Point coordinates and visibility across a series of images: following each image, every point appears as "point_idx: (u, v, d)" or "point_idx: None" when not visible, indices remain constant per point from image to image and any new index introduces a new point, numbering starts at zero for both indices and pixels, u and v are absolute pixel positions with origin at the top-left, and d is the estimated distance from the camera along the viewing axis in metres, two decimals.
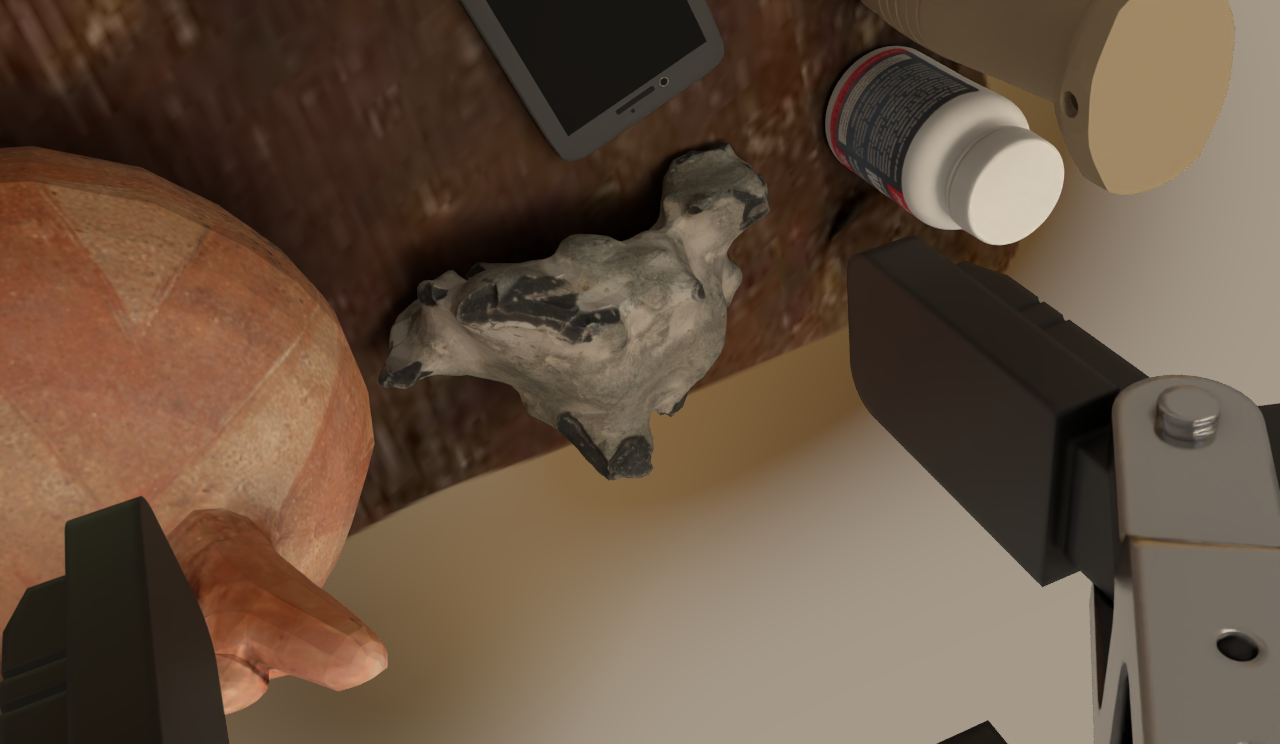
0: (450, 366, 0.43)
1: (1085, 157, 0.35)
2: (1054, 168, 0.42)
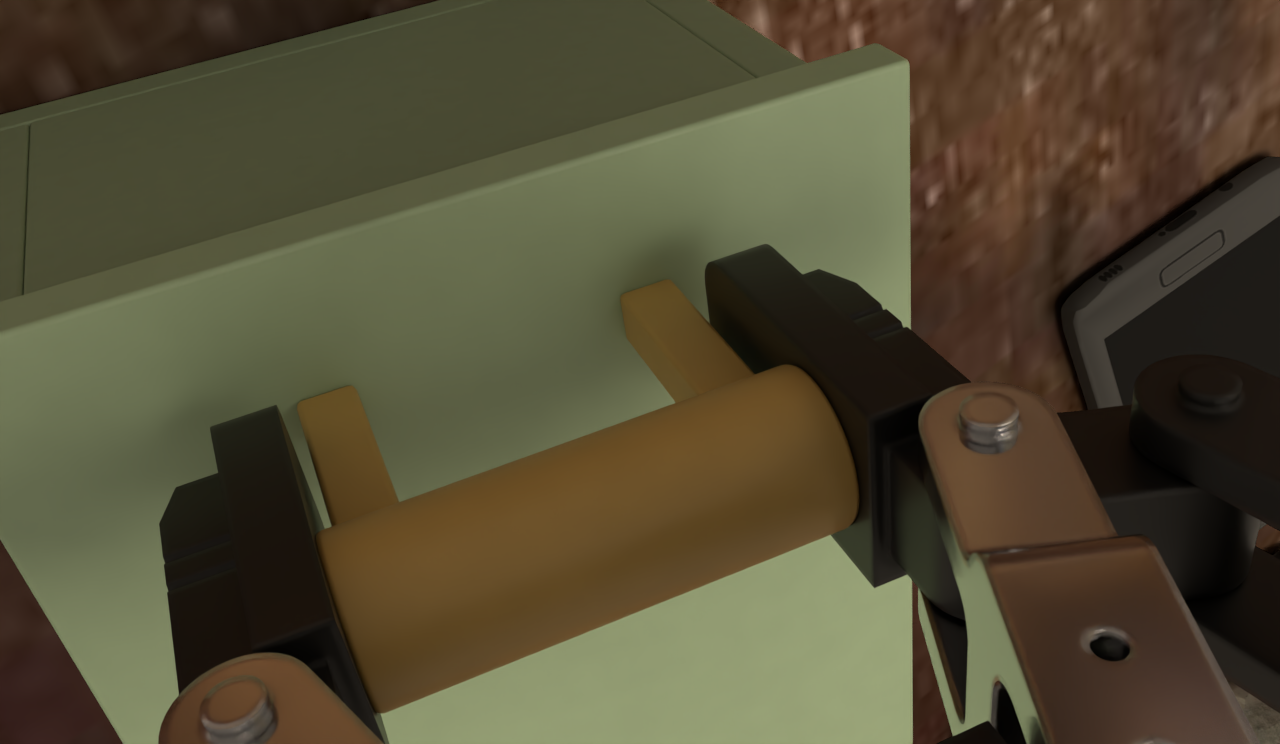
0: None
1: None
2: None
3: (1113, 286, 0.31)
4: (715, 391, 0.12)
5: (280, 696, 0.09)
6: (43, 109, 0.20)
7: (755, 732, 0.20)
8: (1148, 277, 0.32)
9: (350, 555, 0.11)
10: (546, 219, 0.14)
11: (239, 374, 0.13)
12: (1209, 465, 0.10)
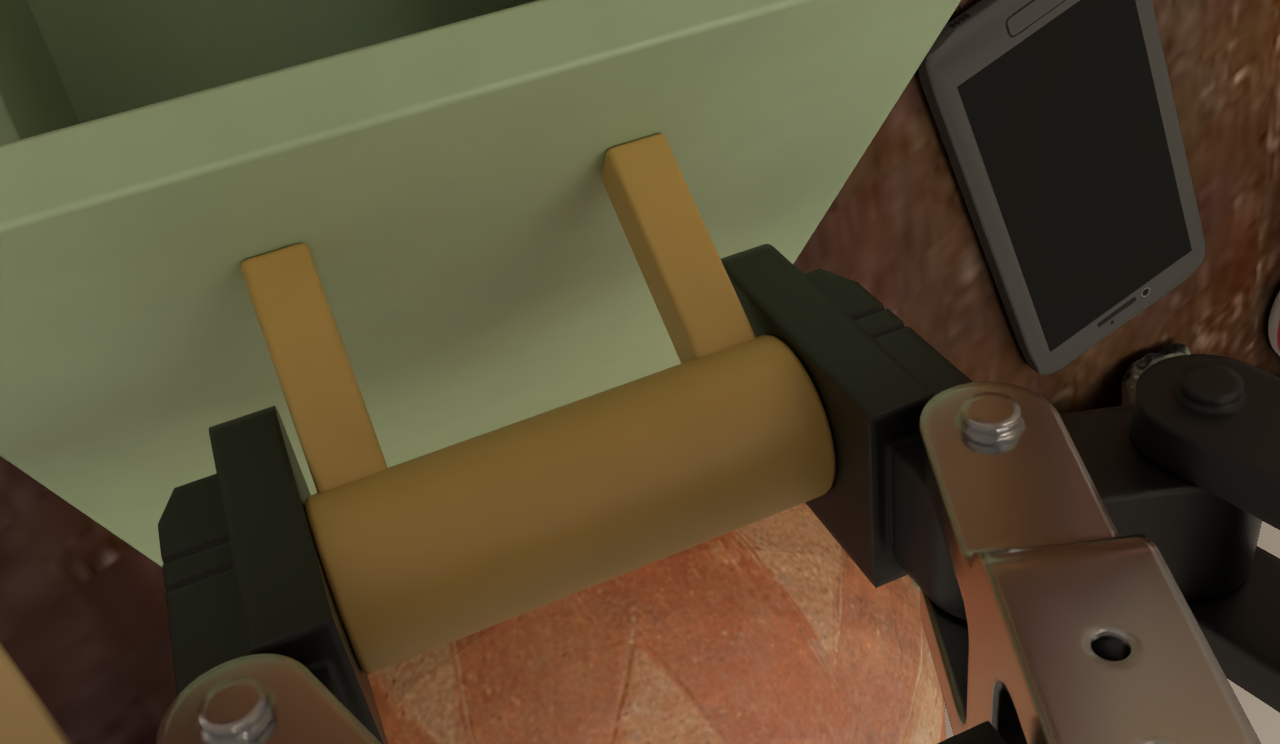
0: None
1: None
2: None
3: (961, 31, 0.34)
4: (719, 385, 0.12)
5: (278, 697, 0.09)
6: None
7: (606, 375, 0.22)
8: (995, 25, 0.34)
9: (357, 575, 0.11)
10: (553, 104, 0.12)
11: (180, 250, 0.12)
12: (1211, 465, 0.10)
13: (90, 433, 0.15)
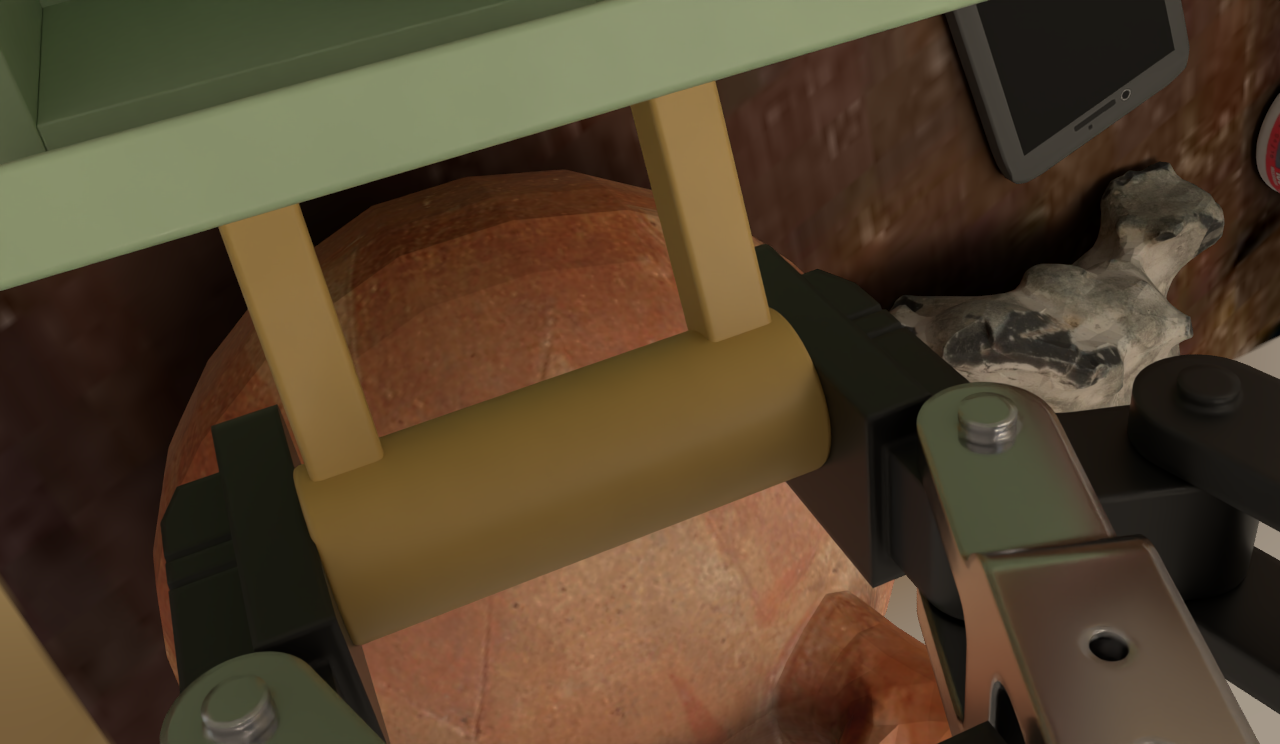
0: None
1: None
2: None
3: None
4: (735, 397, 0.12)
5: (282, 695, 0.09)
6: None
7: None
8: None
9: (363, 592, 0.11)
10: None
11: None
12: (1207, 466, 0.10)
13: None
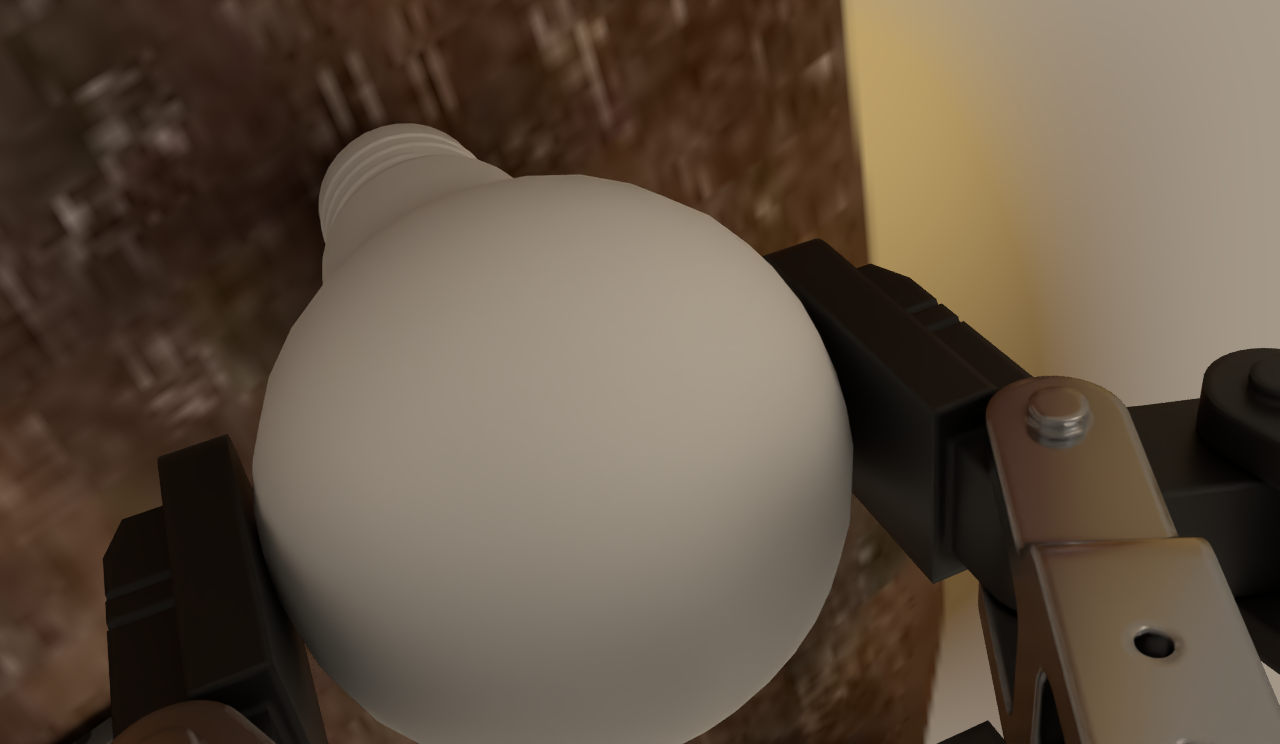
0: None
1: None
2: None
3: None
4: None
5: None
6: None
7: None
8: None
9: None
10: None
11: None
12: None
13: None
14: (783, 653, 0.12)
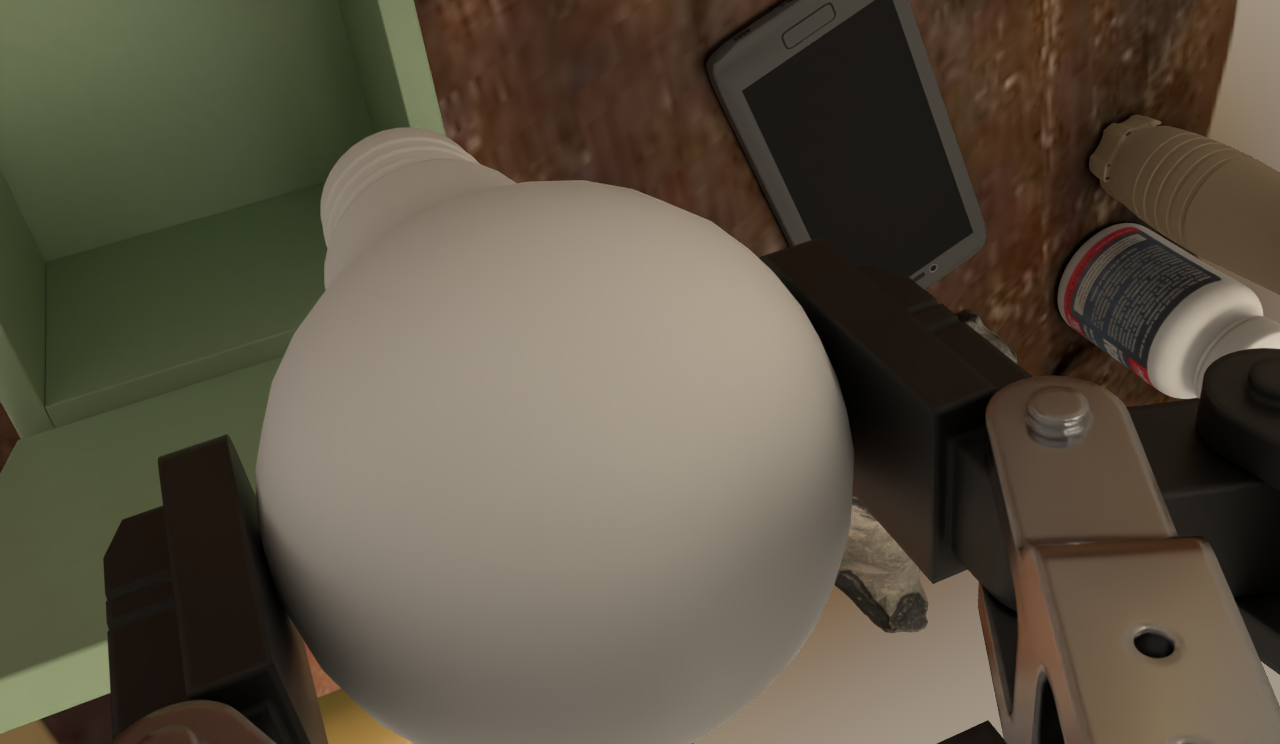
0: None
1: None
2: None
3: (742, 44, 0.40)
4: None
5: None
6: None
7: None
8: (772, 39, 0.40)
9: None
10: None
11: None
12: None
13: None
14: (784, 657, 0.12)
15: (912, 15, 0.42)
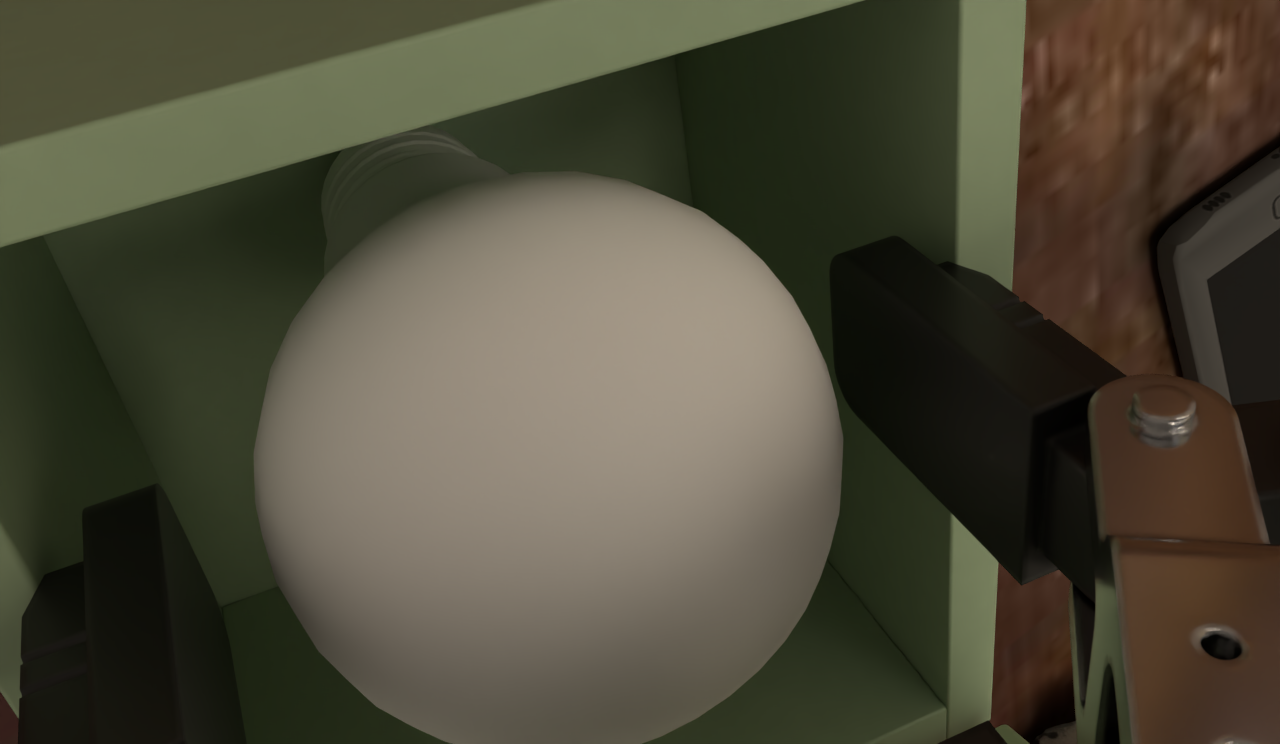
0: None
1: None
2: None
3: (1220, 216, 0.27)
4: None
5: None
6: None
7: None
8: (1260, 207, 0.27)
9: None
10: None
11: None
12: None
13: None
14: (773, 640, 0.12)
15: None
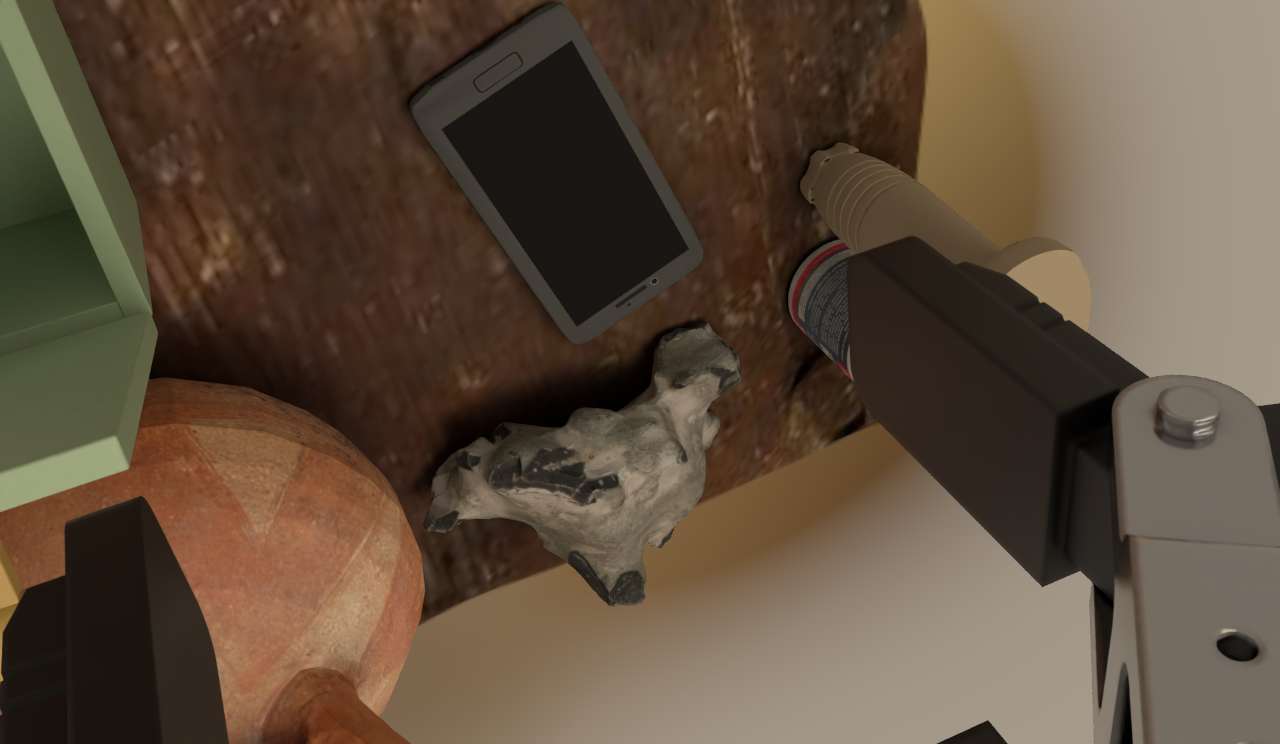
0: (481, 513, 0.53)
1: None
2: None
3: (435, 89, 0.46)
4: None
5: None
6: None
7: None
8: (464, 84, 0.46)
9: None
10: None
11: None
12: None
13: None
14: None
15: (598, 61, 0.48)
